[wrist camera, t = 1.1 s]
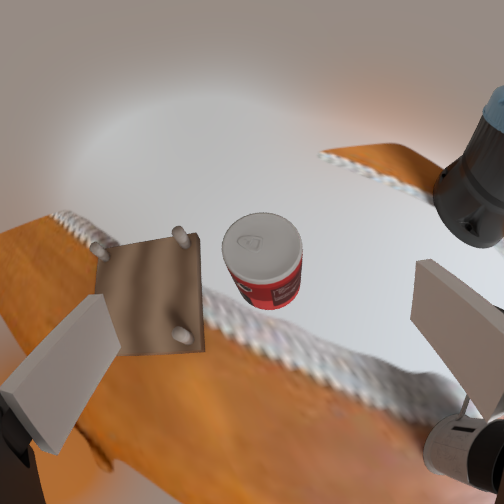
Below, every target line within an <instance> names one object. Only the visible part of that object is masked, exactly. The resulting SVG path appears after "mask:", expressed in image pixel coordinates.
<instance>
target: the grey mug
mask: <svg viewBox="0 0 504 504" xmlns="http://www.w3.org/2000/svg"><path fill="white" fill-rule="evenodd" d="M469 400H470V398H469V396H468V395H466V398H465V400H464V403H463V406H462V409H461V412H460V414H454V415H450V416H448V417H446V418H444V419H443V420H441V421H440V422H439V423H438V424H437V425H436V426H435V427H434V428H433V429H432V431H431V432H430V434H429V436H428V438H427V440H426V443H425V446H424V451H423V458H424V463H425V465H426V467H427V469H428V470H429V471H430V472H432V473H434V474H437V475H446V476H449V477H451V478H453V479H455V480H458V481H460V482H462V483H464V484H467V485H469V486H472V487H474V488H476V489H479V490H481V491H485V492H492V493H494V494H498V490H499V487H500V483H501V479H502V474H503V470H504V432H503V430H504V420H502V419H495V420H493V421H491V422H489V423H486V421H485V420H484V419H477V418H470V417H468V416H466V415H464V414H465V412H466V409H467V406H468V403H469Z"/></svg>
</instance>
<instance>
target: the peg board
mask: <svg viewBox="0 0 504 504" xmlns="http://www.w3.org/2000/svg"><path fill="white" fill-rule="evenodd" d="M172 235H173V237H167V238H162V239H156V240H150V241H145V242H139V243H133V244H128V245H122V246H117V247H111V248H106V249H104V248H103V247H102V246H101V245H100V244H99V243H97V242H93V243H92V244H91V245H90V251H91V252H92V253H93V254H95V255H96V256H97V257H98V266H97V275H96V285H95V294H103V296H104V299H105V303H106V306H107V309H108V312H109V315H110V318H111V321H112V323H113V326H114V329H115V332H116V335H117V337H118V340H119V343H120V345H121V349H120V350H119V352H118V353H117V355H116V356H139V355H165V354H183V353H197V352H205V340H204V323H203V305H202V283H201V255H200V238H199V237H198V235H197V233H191V234H186V232H185V231H184V229H183V228H182V227H181V226H176V227H175V228H173V230H172Z"/></svg>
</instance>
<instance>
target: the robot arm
mask: <svg viewBox="0 0 504 504" xmlns="http://www.w3.org/2000/svg"><path fill="white" fill-rule="evenodd" d="M433 198H434V203H435V207H436V210H437V212H438V214H439V216H440V218H441V220H442V221H443V223H444V224H445V226H446V227H447V228H448V229H449V230H450V232H451V233H452V234H454V235H455V236H456V237H457V238H458V239H460V240H461V241H463V242H464V243H466V244H468V245H470V246H473V247H476V248H489V247H492V246H494V245H495V244H497V243H498V242H499V241H500V240H501V239H502V238H503V237H504V86H500V87H498V88H497V89H496V90H495V91H494V92H493V94H492V96H491V98H490V100H489V102H488V104H487V105H486V106H485V107H484V109H483V115H482V117H481V119H480V121H479V123H478V126H477V128H476V130H475V132H474V134H473V136H472V138H471V140H470V142H469V144H468V145H467V147H466V150H465V151H464V153H463V155H462V156H461V157H459V158H458V159H457V160H456V161H454V162H453V163H452V164H450V165H449V166H448V167H446V168H445V169H444V170H443V171H442V172H441V174H440V175H439V177H438V179H437V181H436V183H435V185H434V190H433ZM410 320H411V321H412V322H413V323H414V324H415V326H416V327H417V328H418V329H419V331H420V332H421V333H422V334H423V336H424V337H425V338H426V339H427V341H428V342H429V343H430V345H431V346H432V347H433V348H434V350H435V351H436V352H437V354H438V355H439V356H440V358H441V359H442V360H443V362H444V363H445V364H446V366H447V367H448V368H449V370H450V371H451V372H452V374H453V375H454V376H455V378H456V379H457V381H458V382H459V383H460V385H461V386H462V388H463V389H464V390H465V392H466V393H467V395H468V396H469V398H470V399H471V400H472V402H473V403H474V405H475V406H476V408H477V409H478V411H479V412H480V414H481V415H482V417H483V418H484V420H485V421H486V423H489V422H491V421H493V420H495V419H497V418H499V417H501V416H503V415H504V310H503V309H501V308H499V307H496V306H494V305H492V304H491V303H490V302H488V301H487V300H486V299H484V298H483V297H482V296H481V295H480V294H478V293H477V292H475V291H474V290H473V289H471V288H470V287H469V286H468V285H466V284H465V283H464V282H462V281H461V280H460V279H458V278H457V277H456V276H454V275H453V274H451V273H450V272H449V271H447V270H446V269H445V268H443V267H442V266H440V265H439V264H438V263H436V262H435V261H433V260H432V259H427V260H420V261H416V271H415V282H414V293H413V301H412V310H411V317H410ZM120 349H121V345H120V343H119V340H118V337H117V335H116V332H115V329H114V326H113V323H112V321H111V318H110V315H109V312H108V309H107V306H106V303H105V299H104V296H103V294H95V295H88V296H87V297H86V298H85V299H84V300H83V301H82V302H81V303H80V304H79V305H78V306H77V307H76V308H75V309H74V310H73V311H72V312H71V313H70V314H69V315H68V316H66V317H65V318H64V319H63V320H62V321H61V322H60V323H59V324H58V325H57V326H56V327H55V328H54V329H53V330H52V331H51V332H50V333H49V335H48V336H47V337H46V338H45V339H44V340H43V341H42V342H41V343H40V344H39V345H38V346H37V347H36V348H35V349H34V350H33V351H32V352H31V353H30V354H29V355H28V356H27V358H26V359H25V360H24V361H23V362H22V363H21V364H20V365H19V366H18V367H17V368H16V370H15V371H14V372H13V373H12V374H11V375H10V376H9V377H8V379H7V380H6V381H5V382H4V383H3V384H2V385H1V387H0V504H46V503H45V499H44V495H43V491H42V488H41V483H40V479H39V475H38V470H37V465H36V460H35V455H34V451H33V449H32V448H31V446H30V445H29V444H30V442H31V441H32V439H33V440H34V442H35V443H36V444H37V445H38V446H39V448H40V449H41V450H42V451H45V452H48V453H51V454H54V455H58V453H59V452H60V450H61V448H62V446H63V444H64V442H65V441H66V439H67V437H68V435H69V433H70V432H71V430H72V428H73V426H74V425H75V423H76V421H77V419H78V418H79V416H80V414H81V413H82V411H83V409H84V407H85V406H86V404H87V402H88V401H89V399H90V397H91V396H92V394H93V392H94V391H95V389H96V387H97V386H98V384H99V382H100V381H101V379H102V377H103V376H104V374H105V372H106V371H107V369H108V368H109V366H110V364H111V363H112V361H113V360H114V358H115V356H116V355H117V353H118V352H119V350H120ZM503 432H504V430H503ZM495 504H504V470H503V474H502V479H501V483H500V487H499V490H498V494H497V498H496V501H495Z"/></svg>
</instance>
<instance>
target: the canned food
mask: <svg viewBox="0 0 504 504" xmlns="http://www.w3.org/2000/svg"><path fill="white" fill-rule="evenodd" d="M302 252H303V249H302V241H301V238H300V235H299V233H298V231H297V229H296V228H295V227H294V226H293V224H292V223H291V222H289V221H288V220H287V219H285V218H283V217H281V216H279V215H276V214H272V213H255V214H250V215H247V216H244V217H242V218H241V219H239V220H237V221H236V222H235V223H233V224H232V225H231V226H230V228H229V229H228V230H227V232H226V234H225V236H224V238H223V242H222V254H223V259H224V261H225V264H226V266H227V268H228V270H229V272H230V274H231V276H232V278H233V280H234V282H235V284H236V285H237V287H238V289H239V291H240V293H241V295H242V296H243V298H244V299H245V300H246V301H247V302H248V303H249V304H251V305H252V306H254V307H257V308H259V309H265V310H275V309H279V308H282V307H284V306H286V305H287V304H289V303H290V302H291V301H292V300H293V299H294V298H295V297H296V295H297V294H298V291H299V288H300V282H301V270H302V255H303V254H302Z"/></svg>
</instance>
